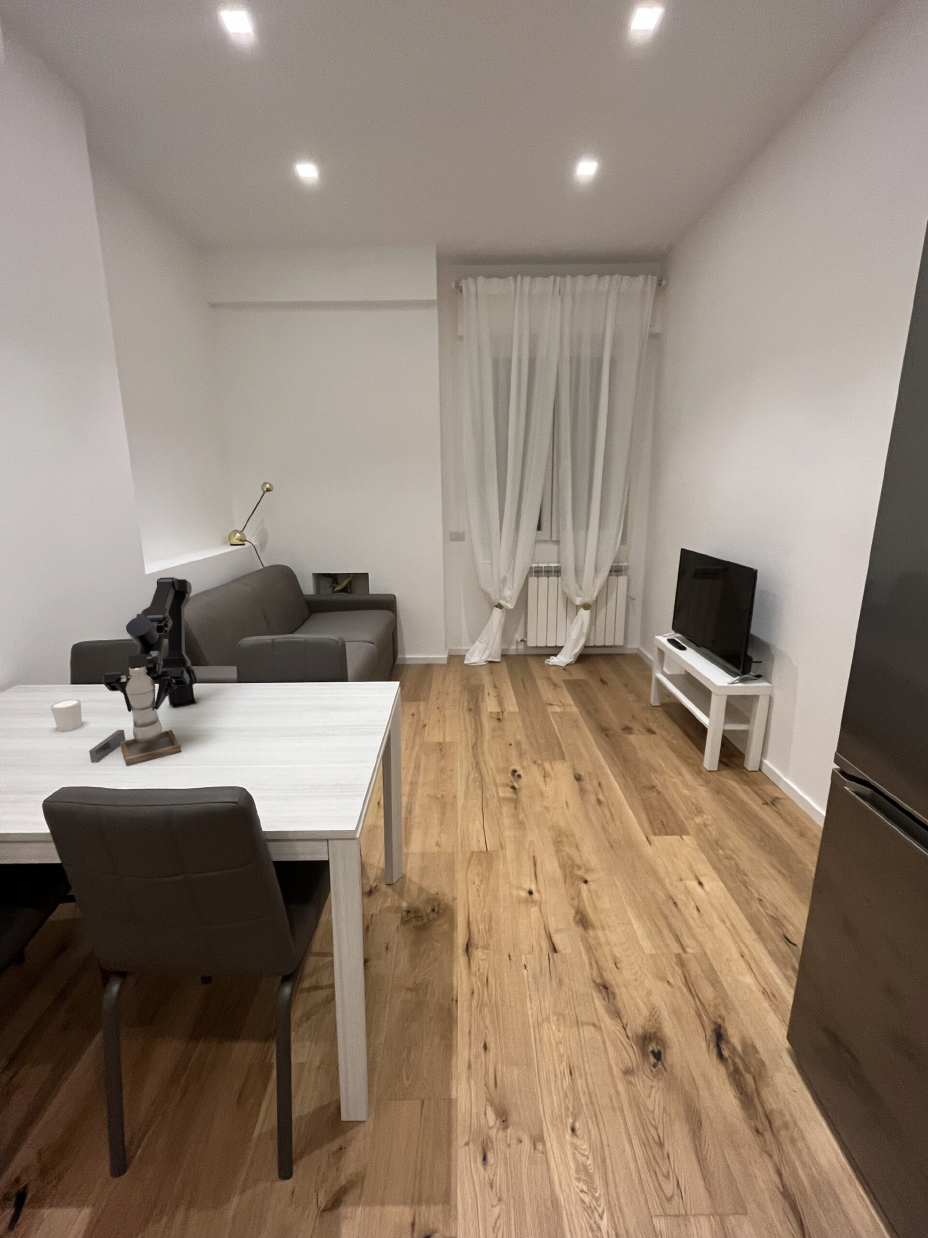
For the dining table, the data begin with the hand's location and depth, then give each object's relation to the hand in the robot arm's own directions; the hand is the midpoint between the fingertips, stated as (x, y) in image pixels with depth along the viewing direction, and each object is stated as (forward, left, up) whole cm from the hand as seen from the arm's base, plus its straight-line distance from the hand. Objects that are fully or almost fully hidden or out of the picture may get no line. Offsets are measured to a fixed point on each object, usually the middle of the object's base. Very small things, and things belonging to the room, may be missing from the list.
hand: (143, 710), depth 136 cm
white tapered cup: (+16, -31, -12) cm, 37 cm away
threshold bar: (+8, -7, -11) cm, 16 cm away
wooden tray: (0, -1, -11) cm, 11 cm away
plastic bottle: (0, -1, -9) cm, 9 cm away
